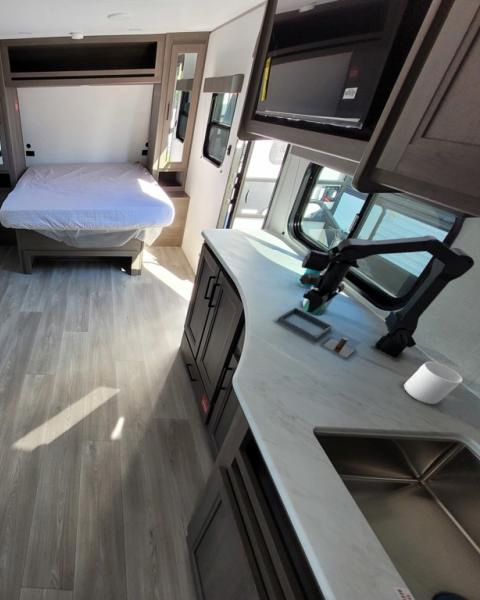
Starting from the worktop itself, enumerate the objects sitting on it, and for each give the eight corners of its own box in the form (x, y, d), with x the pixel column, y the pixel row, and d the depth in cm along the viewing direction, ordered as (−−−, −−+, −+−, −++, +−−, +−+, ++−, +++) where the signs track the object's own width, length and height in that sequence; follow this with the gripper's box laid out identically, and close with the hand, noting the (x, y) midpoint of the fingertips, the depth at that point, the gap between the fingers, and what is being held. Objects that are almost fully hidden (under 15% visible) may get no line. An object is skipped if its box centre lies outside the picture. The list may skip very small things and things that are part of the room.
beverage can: (308, 283, 151) (323, 255, 143) (314, 289, 147) (330, 261, 138) (296, 282, 152) (310, 254, 143) (302, 288, 147) (317, 260, 138)
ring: (325, 312, 117) (329, 306, 115) (317, 317, 114) (321, 311, 112) (307, 304, 121) (311, 297, 120) (299, 309, 118) (303, 302, 117)
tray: (329, 330, 121) (332, 326, 119) (313, 342, 115) (317, 337, 113) (292, 312, 130) (295, 307, 129) (276, 322, 124) (279, 317, 123)
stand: (354, 351, 112) (361, 341, 109) (345, 359, 108) (353, 348, 105) (331, 339, 117) (338, 329, 114) (322, 346, 113) (329, 336, 110)
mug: (396, 372, 104) (417, 350, 98) (428, 382, 101) (451, 360, 95) (406, 397, 95) (429, 375, 89) (441, 409, 92) (468, 387, 86)
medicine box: (303, 307, 133) (312, 291, 128) (302, 302, 137) (311, 286, 132) (324, 313, 131) (334, 296, 126) (323, 307, 134) (333, 291, 129)
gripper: (321, 259, 118) (303, 292, 127) (298, 271, 109) (279, 306, 118) (355, 271, 111) (332, 306, 120) (332, 285, 102) (310, 321, 111)
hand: (313, 309), depth 117 cm, fingers closed on ring, 6 cm apart
